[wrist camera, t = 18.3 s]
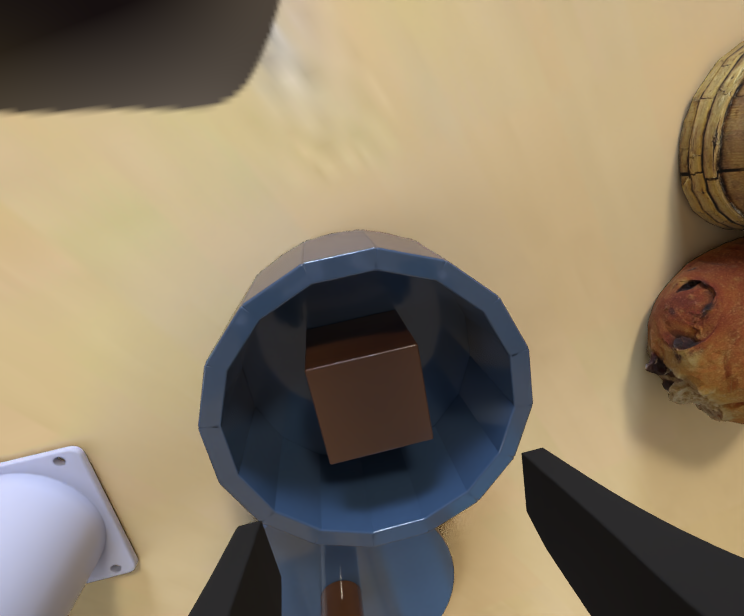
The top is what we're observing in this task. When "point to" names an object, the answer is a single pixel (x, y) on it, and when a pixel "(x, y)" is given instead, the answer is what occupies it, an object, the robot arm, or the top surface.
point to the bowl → (296, 409)
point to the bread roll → (703, 334)
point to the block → (367, 386)
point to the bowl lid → (364, 576)
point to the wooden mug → (716, 145)
